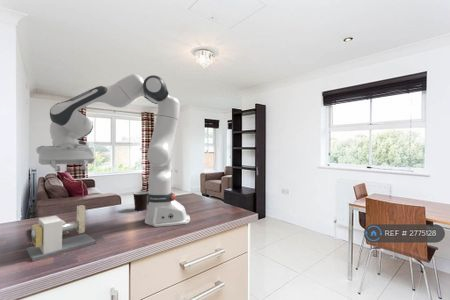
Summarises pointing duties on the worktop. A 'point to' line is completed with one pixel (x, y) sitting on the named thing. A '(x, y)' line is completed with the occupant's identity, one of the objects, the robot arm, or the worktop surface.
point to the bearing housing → (56, 240)
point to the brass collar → (37, 235)
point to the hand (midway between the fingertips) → (71, 169)
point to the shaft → (73, 225)
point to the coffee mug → (140, 200)
